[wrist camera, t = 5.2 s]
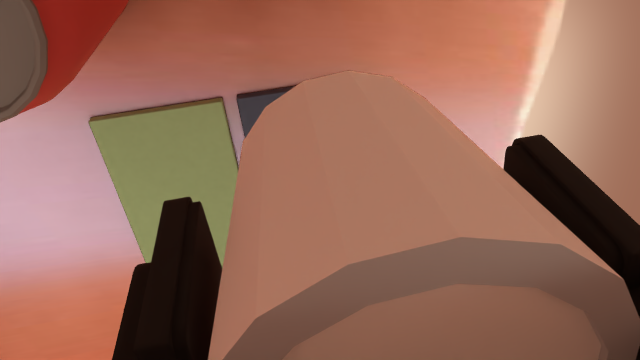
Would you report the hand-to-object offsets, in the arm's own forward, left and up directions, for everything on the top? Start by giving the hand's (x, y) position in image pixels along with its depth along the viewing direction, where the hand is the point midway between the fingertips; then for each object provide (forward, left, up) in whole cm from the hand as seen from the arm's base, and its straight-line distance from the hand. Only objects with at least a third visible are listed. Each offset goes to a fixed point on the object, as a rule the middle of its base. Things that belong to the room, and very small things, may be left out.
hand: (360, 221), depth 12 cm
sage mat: (+10, -8, -17) cm, 21 cm away
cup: (0, 0, -2) cm, 2 cm away
